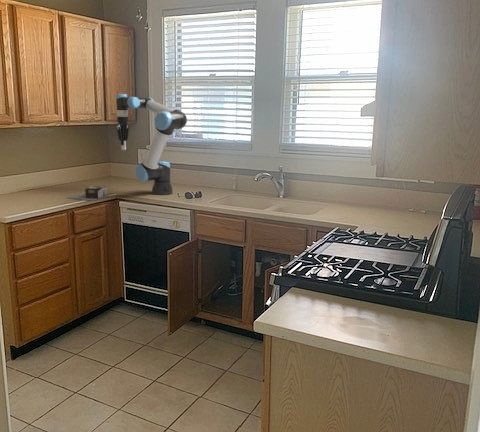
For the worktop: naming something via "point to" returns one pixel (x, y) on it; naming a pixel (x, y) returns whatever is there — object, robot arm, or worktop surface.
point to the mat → (83, 197)
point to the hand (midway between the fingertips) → (123, 149)
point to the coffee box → (96, 191)
